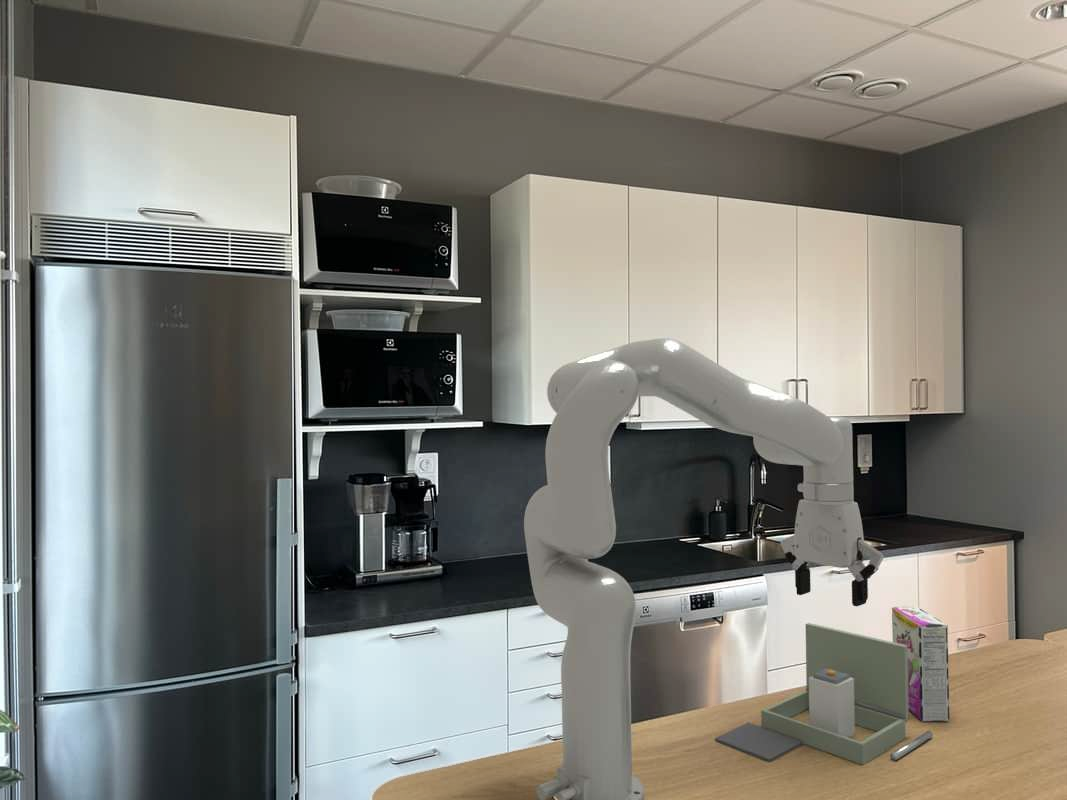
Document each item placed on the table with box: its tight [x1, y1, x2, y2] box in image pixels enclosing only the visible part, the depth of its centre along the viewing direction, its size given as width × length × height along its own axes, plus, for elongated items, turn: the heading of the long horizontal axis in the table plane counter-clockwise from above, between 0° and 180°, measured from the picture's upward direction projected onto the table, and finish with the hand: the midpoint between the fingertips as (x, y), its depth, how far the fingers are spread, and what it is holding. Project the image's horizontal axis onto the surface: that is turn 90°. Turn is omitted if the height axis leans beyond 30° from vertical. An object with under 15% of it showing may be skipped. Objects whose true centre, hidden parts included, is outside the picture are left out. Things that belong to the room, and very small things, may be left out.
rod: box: [889, 730, 934, 761], centre depth 123 cm, size 12×1×1 cm, turn 130°
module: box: [808, 668, 856, 738], centre depth 129 cm, size 5×5×10 cm
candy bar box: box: [891, 606, 950, 723], centre depth 138 cm, size 11×5×16 cm, turn 179°
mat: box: [714, 721, 804, 763], centre depth 126 cm, size 9×10×1 cm
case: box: [760, 622, 910, 766], centre depth 129 cm, size 15×17×14 cm
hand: (830, 598), depth 129 cm, fingers open, 9 cm apart
